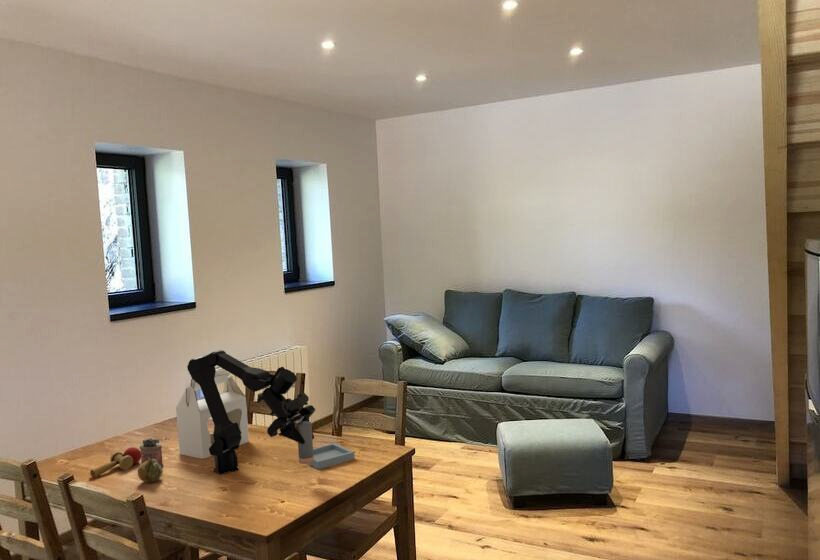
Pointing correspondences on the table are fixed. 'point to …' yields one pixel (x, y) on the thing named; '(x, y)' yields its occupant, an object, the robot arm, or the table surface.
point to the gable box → (208, 416)
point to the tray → (331, 455)
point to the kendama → (119, 461)
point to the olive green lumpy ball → (150, 471)
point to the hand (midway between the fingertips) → (308, 440)
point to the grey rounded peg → (307, 447)
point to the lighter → (151, 451)
